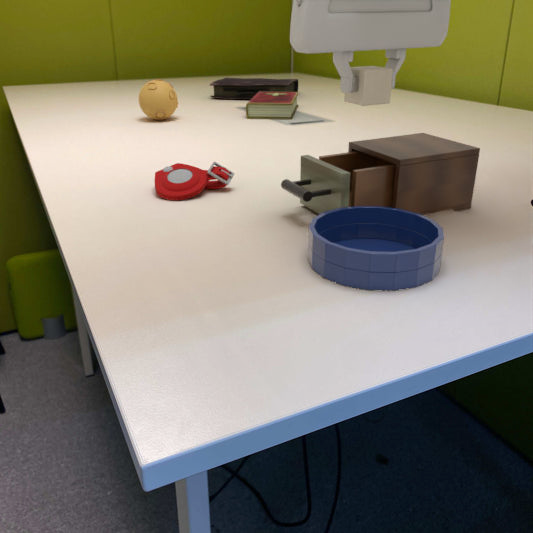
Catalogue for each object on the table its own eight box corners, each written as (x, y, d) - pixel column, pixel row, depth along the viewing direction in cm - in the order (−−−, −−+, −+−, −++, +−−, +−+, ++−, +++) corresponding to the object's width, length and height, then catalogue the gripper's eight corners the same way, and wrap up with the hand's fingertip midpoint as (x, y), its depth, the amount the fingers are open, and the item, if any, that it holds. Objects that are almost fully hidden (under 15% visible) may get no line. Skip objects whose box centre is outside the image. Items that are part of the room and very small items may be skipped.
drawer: (311, 231, 68) (312, 178, 65) (273, 207, 76) (273, 159, 74) (417, 211, 75) (423, 161, 72) (371, 190, 83) (375, 145, 80)
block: (370, 99, 69) (372, 65, 68) (390, 103, 66) (393, 68, 64) (343, 101, 68) (345, 67, 66) (362, 106, 64) (365, 70, 63)
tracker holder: (169, 198, 80) (138, 168, 86) (175, 221, 83) (144, 191, 89) (238, 166, 84) (204, 140, 90) (241, 190, 87) (207, 163, 93)
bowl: (384, 232, 70) (387, 199, 68) (467, 277, 58) (474, 238, 56) (286, 253, 64) (286, 217, 62) (356, 307, 53) (359, 265, 51)
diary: (226, 91, 189) (226, 76, 187) (298, 93, 184) (298, 77, 182) (209, 99, 173) (208, 83, 171) (287, 101, 167) (287, 84, 165)
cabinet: (394, 223, 73) (400, 159, 69) (345, 199, 82) (348, 141, 79) (470, 208, 78) (480, 148, 74) (416, 186, 88) (423, 132, 84)
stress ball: (137, 123, 138) (133, 81, 134) (144, 116, 147) (140, 77, 143) (177, 122, 138) (174, 81, 134) (181, 115, 147) (178, 76, 143)
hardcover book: (245, 118, 143) (245, 101, 141) (257, 105, 162) (257, 90, 160) (291, 119, 141) (292, 102, 140) (298, 105, 160) (298, 90, 158)
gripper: (309, -45, 54) (306, 100, 60) (465, -41, 62) (449, 87, 68) (279, -40, 59) (279, 93, 65) (427, -37, 67) (415, 82, 73)
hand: (367, 90), depth 66 cm, fingers closed on block, 4 cm apart
